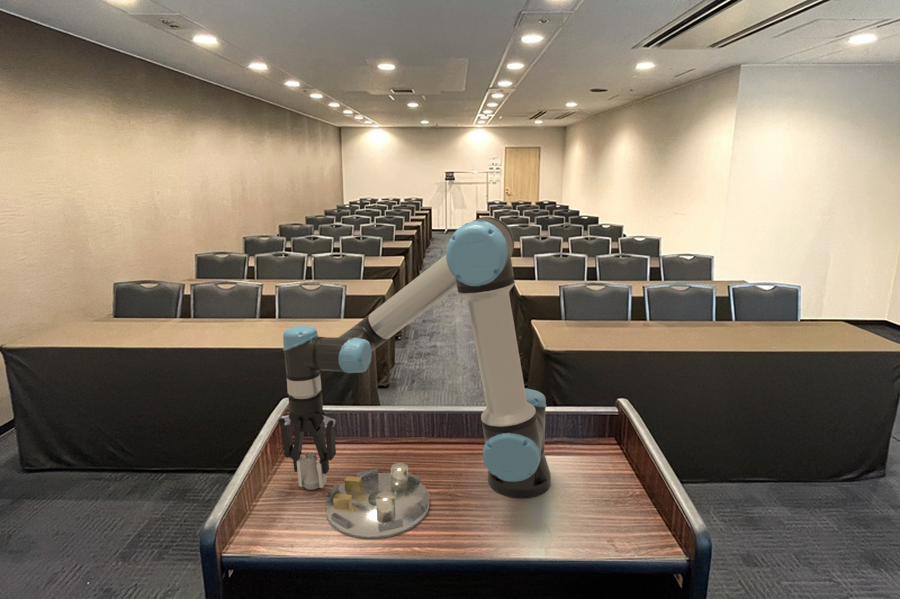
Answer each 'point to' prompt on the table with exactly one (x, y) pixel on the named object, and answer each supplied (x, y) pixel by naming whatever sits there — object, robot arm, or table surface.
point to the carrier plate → (369, 512)
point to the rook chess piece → (311, 472)
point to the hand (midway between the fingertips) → (312, 483)
